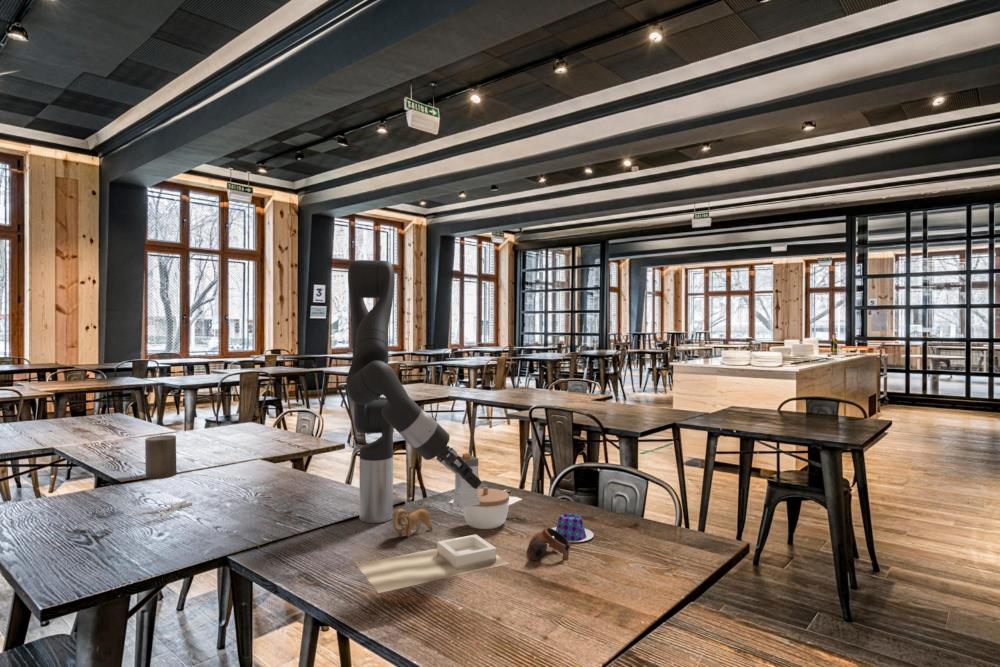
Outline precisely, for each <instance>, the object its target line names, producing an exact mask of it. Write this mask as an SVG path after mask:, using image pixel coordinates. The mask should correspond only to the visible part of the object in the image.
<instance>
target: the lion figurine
mask: <svg viewBox="0 0 1000 667" xmlns="http://www.w3.org/2000/svg"><path fill="white" fill-rule="evenodd" d="M392 516H393V517H392V519H391V520H392V521H391V522H392V526H393V529H394V530H395V531H396V532H397V535H398V538H402V537H403V533H404V532H405V533H406V537H408V538H410V537H411V533H412V535H417V534H419V532H420V531H421V530H420V529H421V528H422V526H421V524H422V523H423V524H424V526H426V527H427V529H429V530H428V531H427V532H428V533H429V532H430V533H431V532H433V531H434V530H433V525H432V523H431V521H430V520H431V519H430V514H429V512H428V510H426V509H425V508H419V509H416V510H415V511H412V512H409V511H407V510H405V509H404V508H398V509H396V510H395V511H393V515H392ZM413 528H416V529H415V531H413V532H411V531H412V529H413Z"/></svg>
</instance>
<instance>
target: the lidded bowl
mask: <svg viewBox="0 0 1000 667" xmlns="http://www.w3.org/2000/svg"><path fill="white" fill-rule="evenodd" d="M478 496H479V497H480V505H473V506H467V507H462V513H463V517H464V520H465V522H466V524H468V526H470V527H471V528H473V529H477V530H490V529H491V530H492V529H497V528H500V527H502V525H504V523H505V521H506V520H507V517H508V513H509V502H510V494H509V493H508V492H507V491H505V490H501V489H498V488H491V487H490V488H488V487H487V486H484V487H482V488H478Z"/></svg>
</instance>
